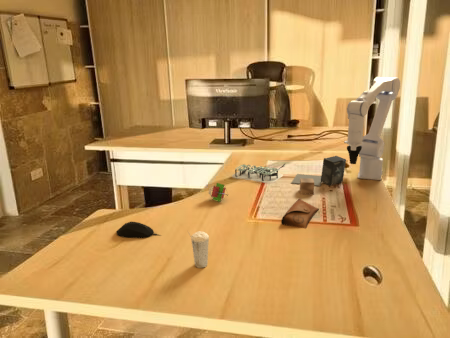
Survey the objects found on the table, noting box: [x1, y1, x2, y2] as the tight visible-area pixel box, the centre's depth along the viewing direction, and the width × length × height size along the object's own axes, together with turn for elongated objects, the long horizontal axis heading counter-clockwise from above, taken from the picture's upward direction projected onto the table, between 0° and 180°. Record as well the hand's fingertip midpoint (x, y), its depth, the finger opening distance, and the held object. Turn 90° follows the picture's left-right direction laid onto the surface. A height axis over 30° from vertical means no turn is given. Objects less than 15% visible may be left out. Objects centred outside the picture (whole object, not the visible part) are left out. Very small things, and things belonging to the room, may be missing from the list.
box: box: [320, 155, 347, 186], centre depth 159 cm, size 8×6×11 cm
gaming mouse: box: [115, 221, 163, 239], centre depth 117 cm, size 6×15×4 cm, turn 78°
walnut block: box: [299, 178, 315, 196], centre depth 150 cm, size 5×5×5 cm
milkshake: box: [187, 230, 210, 269], centre depth 98 cm, size 4×5×10 cm
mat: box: [290, 173, 323, 187], centre depth 164 cm, size 12×13×1 cm
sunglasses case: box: [281, 197, 319, 229], centre depth 128 cm, size 18×7×7 cm, turn 154°
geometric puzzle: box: [208, 182, 229, 203], centre depth 143 cm, size 7×7×8 cm
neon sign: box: [231, 163, 286, 184], centre depth 178 cm, size 21×4×29 cm
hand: (353, 163), depth 155 cm, fingers closed
